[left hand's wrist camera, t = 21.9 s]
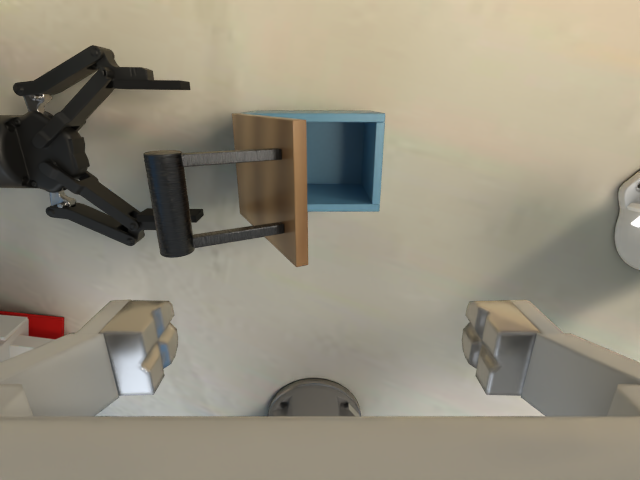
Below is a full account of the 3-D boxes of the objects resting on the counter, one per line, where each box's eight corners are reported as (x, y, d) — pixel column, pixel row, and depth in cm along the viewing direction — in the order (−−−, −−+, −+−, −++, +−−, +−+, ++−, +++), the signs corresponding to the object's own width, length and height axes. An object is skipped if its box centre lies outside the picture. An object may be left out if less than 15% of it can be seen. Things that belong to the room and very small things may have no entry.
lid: (306, 119, 22) (139, 123, 18) (308, 265, 25) (168, 294, 21) (241, 113, 33) (132, 114, 30) (248, 212, 37) (152, 225, 33)
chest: (370, 110, 44) (385, 113, 34) (366, 188, 47) (379, 211, 37) (256, 110, 44) (237, 113, 34) (261, 188, 47) (245, 211, 37)
